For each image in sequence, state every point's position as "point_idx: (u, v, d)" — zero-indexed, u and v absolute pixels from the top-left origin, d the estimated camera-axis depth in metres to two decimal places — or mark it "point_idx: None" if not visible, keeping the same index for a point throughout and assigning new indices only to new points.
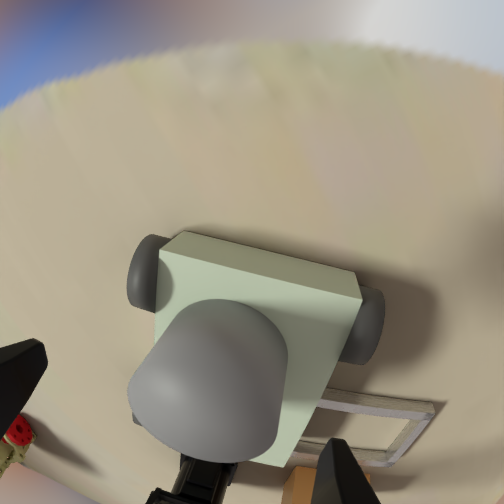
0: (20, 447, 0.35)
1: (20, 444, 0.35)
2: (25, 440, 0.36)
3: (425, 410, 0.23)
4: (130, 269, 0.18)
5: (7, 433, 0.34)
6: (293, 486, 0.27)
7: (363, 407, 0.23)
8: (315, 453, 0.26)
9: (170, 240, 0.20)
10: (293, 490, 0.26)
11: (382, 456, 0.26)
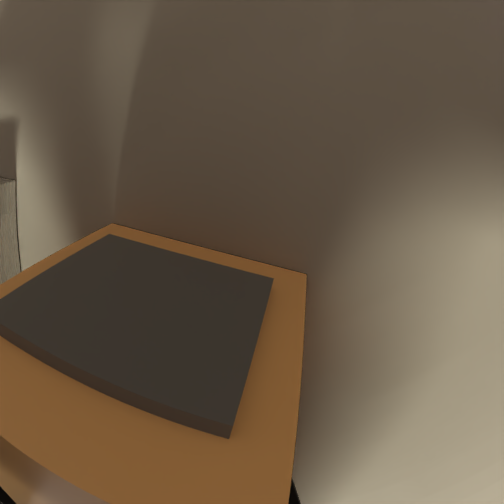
0: None
1: None
2: None
3: None
4: None
5: None
6: None
7: None
8: None
9: None
10: None
11: None
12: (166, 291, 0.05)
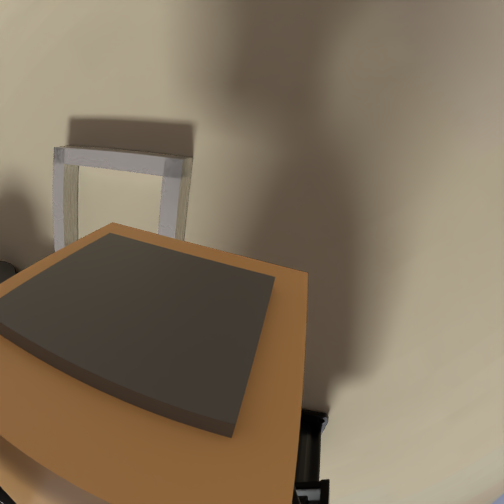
0: None
1: None
2: None
3: None
4: None
5: None
6: None
7: None
8: None
9: None
10: None
11: None
12: (167, 289, 0.05)
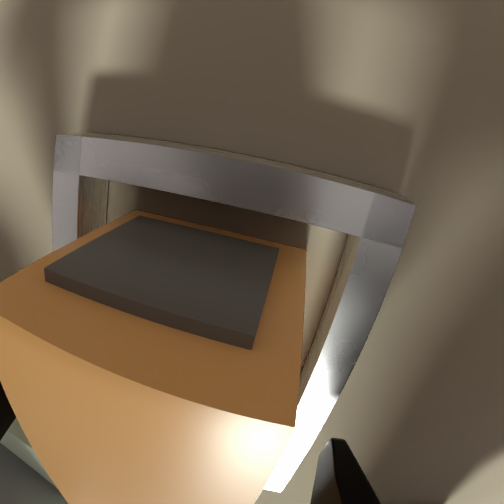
0: None
1: None
2: None
3: None
4: None
5: None
6: None
7: None
8: None
9: None
10: None
11: (350, 247, 0.07)
12: (195, 254, 0.06)
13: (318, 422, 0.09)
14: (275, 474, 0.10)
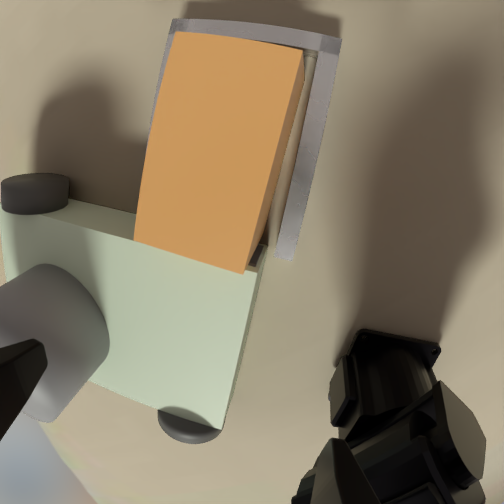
0: None
1: None
2: None
3: None
4: None
5: None
6: None
7: None
8: None
9: None
10: None
11: None
12: None
13: (312, 164, 0.15)
14: (287, 231, 0.17)
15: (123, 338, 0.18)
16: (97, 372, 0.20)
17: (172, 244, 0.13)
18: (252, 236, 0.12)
